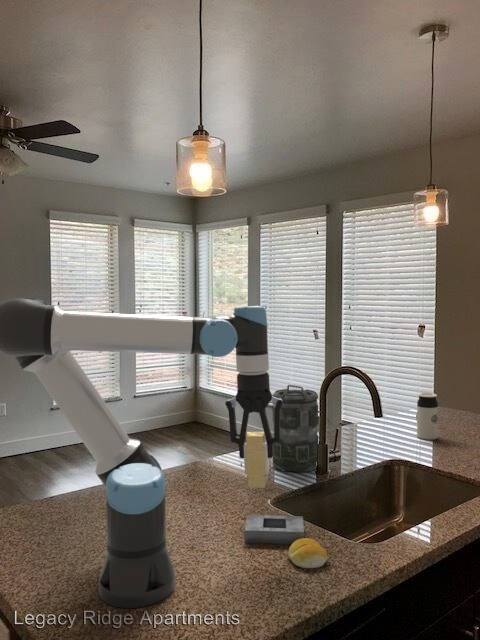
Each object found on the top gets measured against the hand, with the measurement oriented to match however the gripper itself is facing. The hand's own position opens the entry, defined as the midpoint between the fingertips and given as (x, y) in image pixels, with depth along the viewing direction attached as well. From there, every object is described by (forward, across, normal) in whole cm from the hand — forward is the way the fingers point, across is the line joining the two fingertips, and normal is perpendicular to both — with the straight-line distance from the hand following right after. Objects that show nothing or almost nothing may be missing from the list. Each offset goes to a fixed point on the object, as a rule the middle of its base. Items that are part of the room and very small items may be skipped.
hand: (256, 471), depth 124 cm
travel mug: (+21, -62, -102) cm, 121 cm away
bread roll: (+18, -11, +6) cm, 22 cm away
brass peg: (+3, 0, 0) cm, 3 cm away
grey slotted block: (+18, -3, -5) cm, 19 cm away
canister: (+19, -8, -60) cm, 63 cm away
